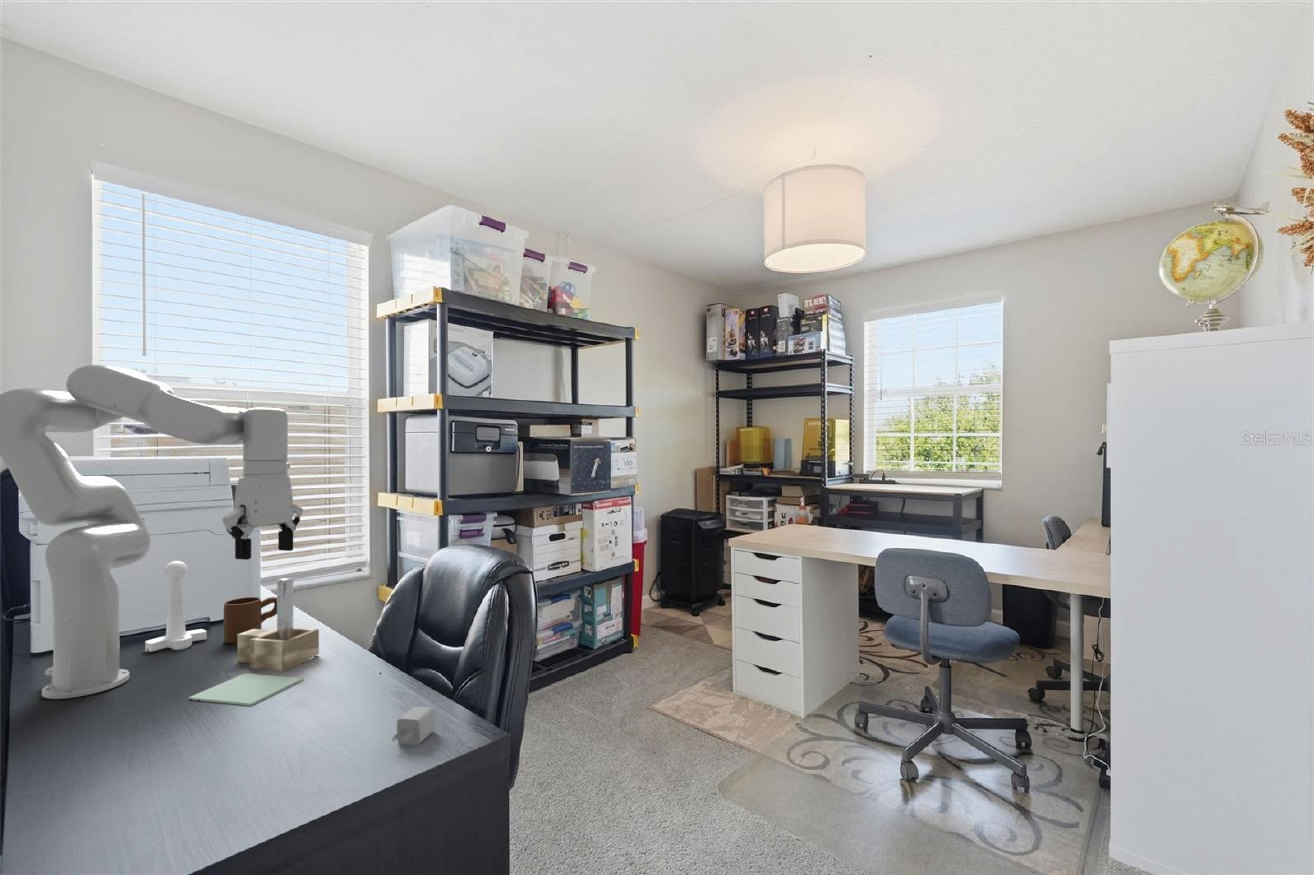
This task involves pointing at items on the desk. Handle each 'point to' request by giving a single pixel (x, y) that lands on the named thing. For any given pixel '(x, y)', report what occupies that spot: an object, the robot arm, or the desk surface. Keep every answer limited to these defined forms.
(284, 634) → the post
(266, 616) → the mug
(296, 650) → the beige wooden open box
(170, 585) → the joystick
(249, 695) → the mat
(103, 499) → the robot arm
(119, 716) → the desk surface
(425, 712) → the usb wall charger
